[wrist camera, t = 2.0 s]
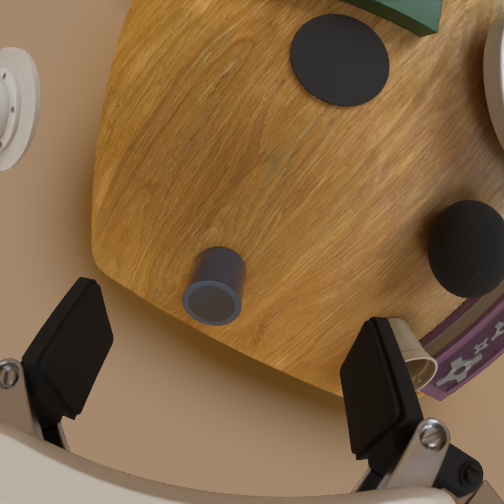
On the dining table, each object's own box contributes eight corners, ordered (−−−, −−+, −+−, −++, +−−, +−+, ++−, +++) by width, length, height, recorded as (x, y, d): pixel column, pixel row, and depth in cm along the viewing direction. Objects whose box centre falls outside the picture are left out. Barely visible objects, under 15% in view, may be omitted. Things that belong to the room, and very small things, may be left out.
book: (513, 248, 28) (532, 267, 24) (529, 297, 32) (542, 314, 28) (393, 357, 39) (402, 382, 35) (432, 381, 43) (439, 402, 39)
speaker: (409, 269, 31) (443, 327, 22) (416, 188, 26) (468, 234, 17) (471, 257, 29) (511, 306, 21) (483, 184, 24) (538, 223, 16)
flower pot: (367, 362, 40) (379, 408, 32) (344, 329, 36) (357, 382, 28) (421, 334, 36) (441, 379, 29) (407, 296, 33) (432, 345, 25)
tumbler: (192, 282, 33) (180, 318, 28) (198, 241, 30) (184, 274, 25) (239, 293, 33) (235, 331, 28) (250, 253, 31) (247, 288, 25)
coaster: (279, 88, 22) (279, 88, 22) (303, 3, 17) (303, 1, 17) (374, 119, 23) (375, 120, 22) (396, 37, 18) (398, 37, 18)
